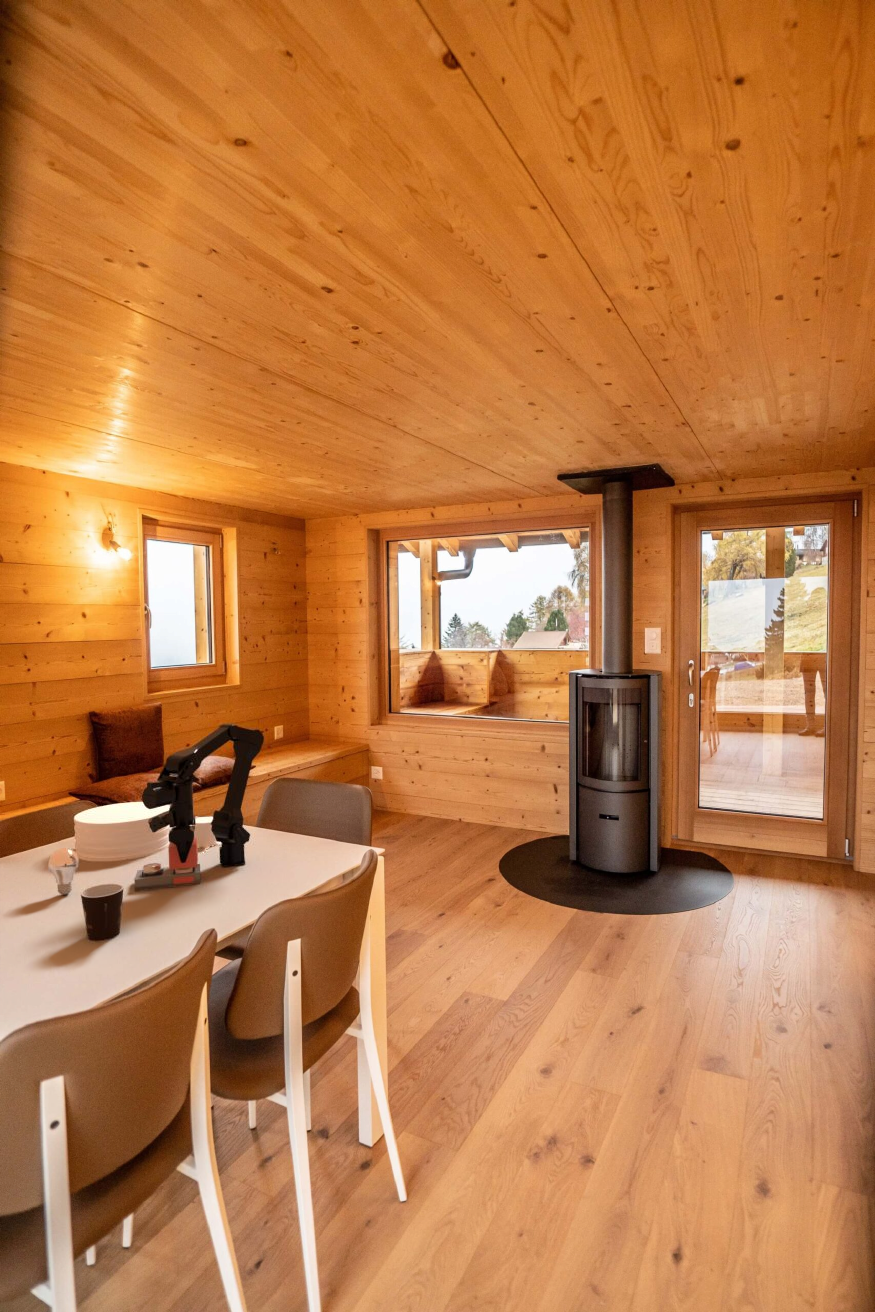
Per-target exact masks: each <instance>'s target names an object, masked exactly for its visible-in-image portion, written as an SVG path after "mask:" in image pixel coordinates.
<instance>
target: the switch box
mask: <svg viewBox="0 0 875 1312" xmlns="http://www.w3.org/2000/svg"><path fill="white" fill-rule="evenodd" d="M200 882H201V863H197V867H193V872H187V873H178V874H175V869H172V870H169V866H168V867H167V866H166V867H161V874H159V875H157V876H151V877H145V876H143V869H140V870H139V869H138V870H137V871H136V874H135V878H134V892H138V891H139V892H140V891H150V890H157V889H158V890H159V889H164V888H165V889H166V888H176V887H182V886H183V887H185V886H192V885H200V884H201V883H200Z"/></svg>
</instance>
